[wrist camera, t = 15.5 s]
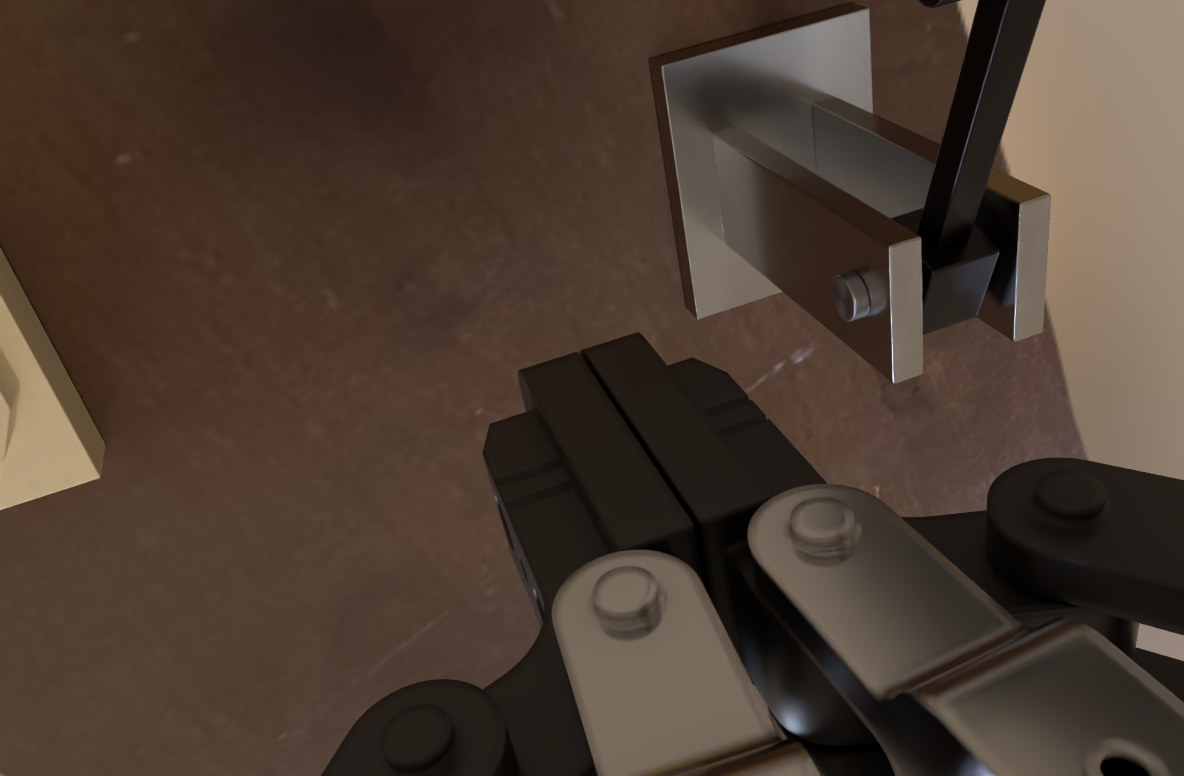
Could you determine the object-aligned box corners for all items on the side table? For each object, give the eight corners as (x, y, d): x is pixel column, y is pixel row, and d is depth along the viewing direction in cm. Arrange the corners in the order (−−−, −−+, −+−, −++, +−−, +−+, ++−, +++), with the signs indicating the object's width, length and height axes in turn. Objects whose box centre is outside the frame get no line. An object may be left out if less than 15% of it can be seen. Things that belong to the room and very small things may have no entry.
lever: (903, -86, 22) (966, -30, 21) (1101, -138, 23) (1174, -88, 22) (831, 298, 32) (870, 353, 30) (973, 251, 33) (1018, 303, 31)
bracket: (648, 58, 36) (832, 161, 26) (852, 2, 38) (1107, 77, 27) (685, 308, 41) (851, 479, 31) (863, 250, 43) (1080, 395, 32)
